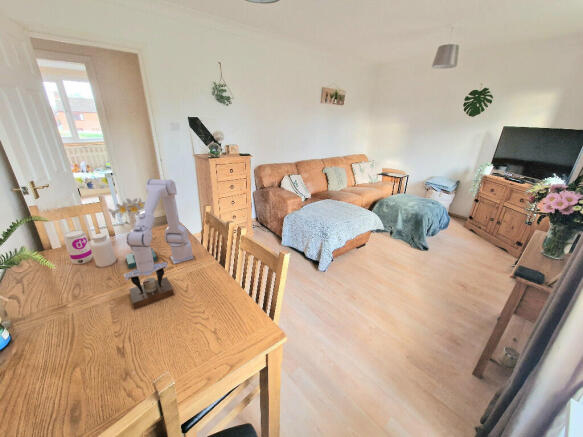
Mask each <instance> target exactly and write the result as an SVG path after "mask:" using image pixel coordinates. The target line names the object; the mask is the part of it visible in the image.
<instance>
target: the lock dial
mask: <svg viewBox="0 0 583 437" xmlns="http://www.w3.org/2000/svg"><path fill="white" fill-rule="evenodd" d="M156 280H157V279H156V278H155V277H147V278H146V279H144V280H143V281H142V285H144V289H145V292H148V293H149V292H153V291H155V290H156V289H157V284H156Z"/></svg>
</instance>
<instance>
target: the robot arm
mask: <svg viewBox="0 0 583 437" xmlns="http://www.w3.org/2000/svg"><path fill="white" fill-rule="evenodd" d="M145 191H146V193H147V195H146V199H145V202H146V203H145V205H144V206H145V207H144V209H143V211H141V212H140V213H139V215H137V218H136V223H135V226H134V228H133V231H131V232H129V231H128V232H129V233H128V232H127V234H128V235H127V234H126V245H127V246H128V247H129V248H130V251H132V253H134V257H135V261H136V265H137V267H136V269H134V270H131V271H129V272H127V273H124V274H123V276H124V280H125V282H128V281H129V280H130V281H131V283H132V284H133V285H134V286H135V287H138V288H139V290H140V291H141V293H142V292H143V290H142V287H141V285H142V284H141V280H140V277H142V276H145V277H148V276H152V274H153V273H156V278H157V279H156V280H158V285H159V287H160V286H161V281H162V278H164V275H165V270H166V269H169V265H168V263H167V262H166V261H165V262H159V263H155V262H154V261H153V256H152V251H151V243H152V241H153V227H154V224H155V221H156V216H155V215H154V214H155V212H156V210H157V207H158V205H159V203H160V201H161V199H162V201H163V206H164V211H165V212H164V213H165V216H166V221H167V228H165V230H164V241H165V243H166V244H168V246H169V247H170V252H171V256H169V258H170V260H171V261H172V263H173V264H174V265H176V264H179V263H183V262H187V261H189V260H193V259H194V254H193V247H192V243H191V241H190V240H189V239H190V234H189V232H188V228H187V227H186V226H183V225H182V224H180V217H179V212H178V206H177V201H176V200H177V199H176V195H178V191H177V186H176V182H175V181H174V180H173V179H157V178H155V179H154V178H149V179H147V181H146V183H145Z"/></svg>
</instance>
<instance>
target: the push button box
mask: <svg viewBox="0 0 583 437" xmlns="http://www.w3.org/2000/svg"><path fill="white" fill-rule="evenodd" d="M151 251H152V256H153V261H154V263H155V262H158V258H157V255H156V253H155V251H154V249H153V248H151ZM125 259H126V262H127V266H128V269H129V270H131V269H134V268H137V265H136V261H135V257H134V253H133V252H132V253H129V254H125Z"/></svg>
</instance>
